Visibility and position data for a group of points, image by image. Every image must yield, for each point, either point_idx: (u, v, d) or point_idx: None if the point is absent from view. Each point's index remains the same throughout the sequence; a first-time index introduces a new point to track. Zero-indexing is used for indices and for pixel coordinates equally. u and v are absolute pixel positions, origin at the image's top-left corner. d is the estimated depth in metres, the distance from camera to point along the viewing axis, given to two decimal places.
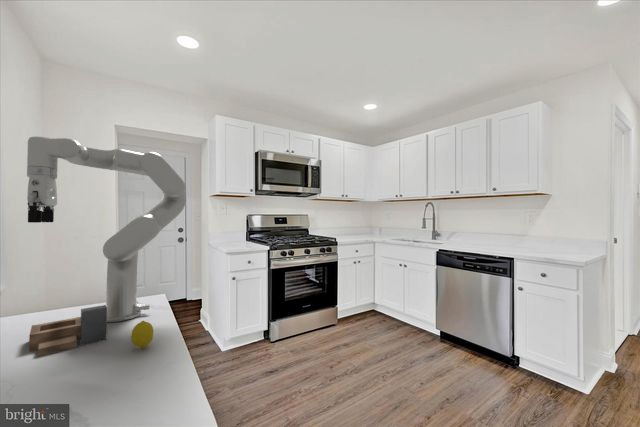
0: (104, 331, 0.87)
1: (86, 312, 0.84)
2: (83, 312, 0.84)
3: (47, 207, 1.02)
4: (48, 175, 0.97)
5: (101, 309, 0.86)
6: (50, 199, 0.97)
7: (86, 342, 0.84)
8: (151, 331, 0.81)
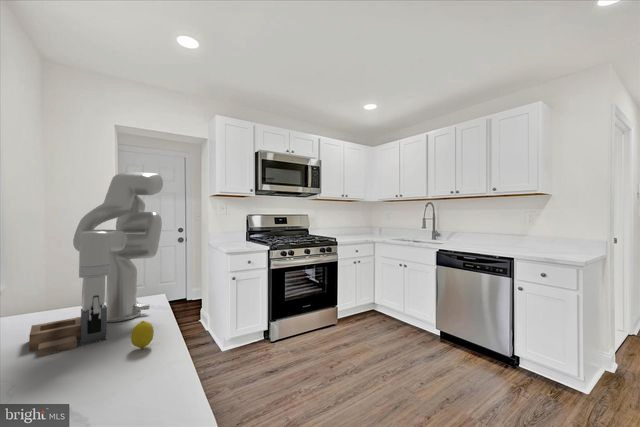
0: (104, 331, 0.87)
1: (86, 312, 0.84)
2: (83, 312, 0.84)
3: None
4: None
5: (101, 309, 0.86)
6: None
7: (86, 342, 0.84)
8: (151, 331, 0.81)
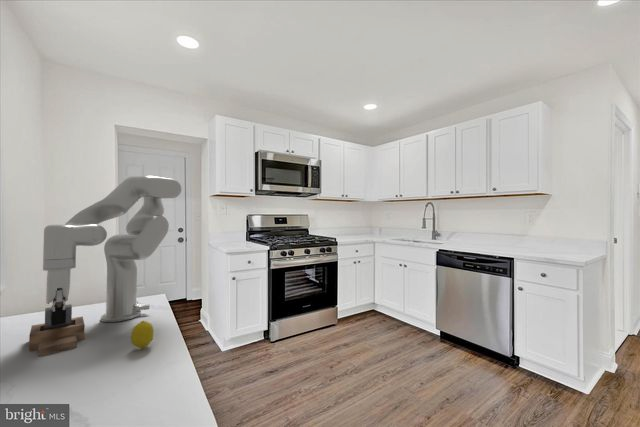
0: None
1: (50, 311, 0.85)
2: (47, 311, 0.84)
3: None
4: None
5: (66, 308, 0.87)
6: None
7: None
8: (151, 331, 0.81)
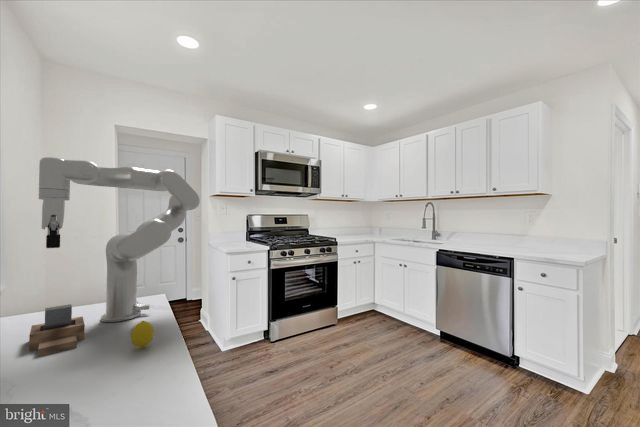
0: None
1: (50, 311, 0.85)
2: (47, 311, 0.84)
3: None
4: None
5: (66, 308, 0.87)
6: None
7: None
8: (151, 331, 0.81)
